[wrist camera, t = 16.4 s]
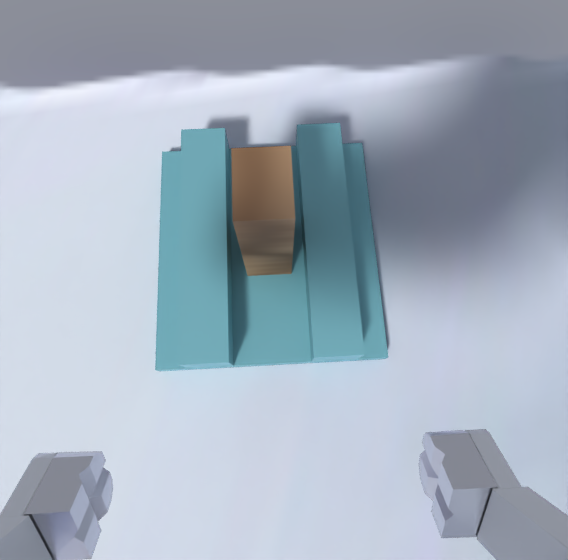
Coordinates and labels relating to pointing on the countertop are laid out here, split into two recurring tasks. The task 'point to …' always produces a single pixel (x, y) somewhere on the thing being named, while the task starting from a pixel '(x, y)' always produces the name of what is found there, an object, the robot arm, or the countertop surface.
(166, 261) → the slotted rack
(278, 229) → the brown rectangular block
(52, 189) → the countertop surface
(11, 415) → the countertop surface
